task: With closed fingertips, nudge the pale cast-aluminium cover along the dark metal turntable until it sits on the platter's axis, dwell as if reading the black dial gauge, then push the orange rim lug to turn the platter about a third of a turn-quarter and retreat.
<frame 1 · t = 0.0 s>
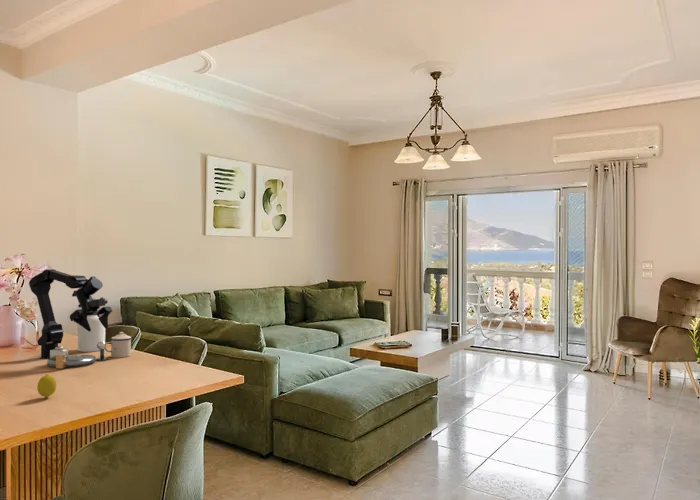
hand: (98, 329, 231), 15 cm above the table, tool tilted 35°, fingers open, 9 cm apart
lemon: (46, 398, 173), on the table
white jar: (91, 350, 263), on the table
turntable base: (71, 364, 228), on the table
cover: (58, 358, 227), point 2 cm above the table, touching platter
platter: (70, 357, 227), point 3 cm above the table, hinge at 0.0°, touching cover
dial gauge: (102, 360, 237), on the table
teacup with lid: (117, 356, 246), on the table
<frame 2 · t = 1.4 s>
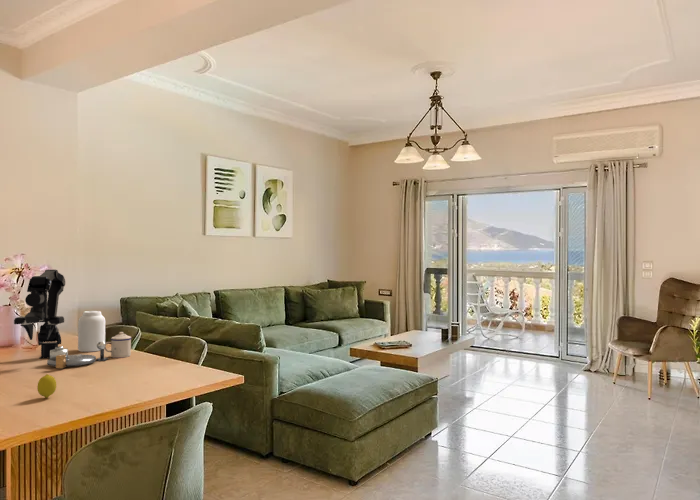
hand: (39, 339, 227), 11 cm above the table, tool pointing down, fingers open, 6 cm apart
nothing on the table moved.
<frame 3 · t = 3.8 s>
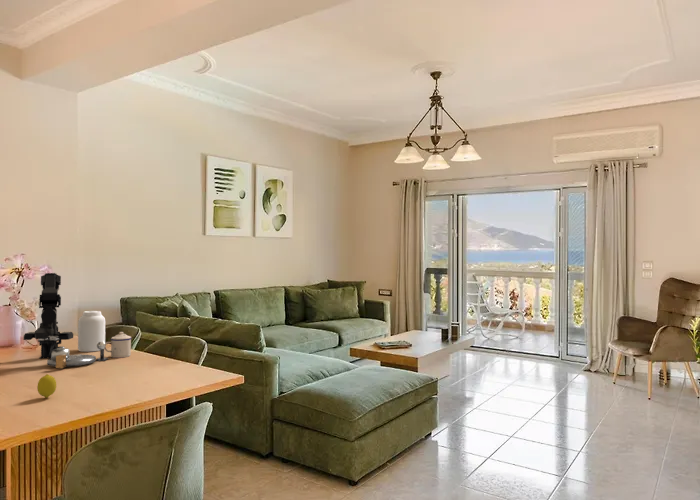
hand: (48, 355, 227), 4 cm above the table, tool pointing down, fingers closed
cover: (60, 358, 227), point 3 cm above the table, touching gripper
platter: (70, 357, 227), point 3 cm above the table, hinge at 0.0°
everything else where it was.
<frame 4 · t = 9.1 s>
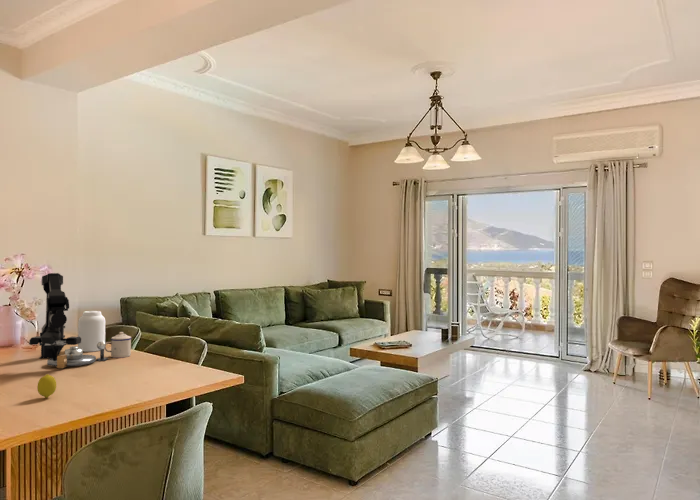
hand: (54, 360, 217), 4 cm above the table, tool pointing down, fingers closed
cover: (73, 358, 228), point 2 cm above the table, touching platter
platter: (70, 357, 227), point 3 cm above the table, hinge at 2.1°, touching cover, gripper
everything else where it was.
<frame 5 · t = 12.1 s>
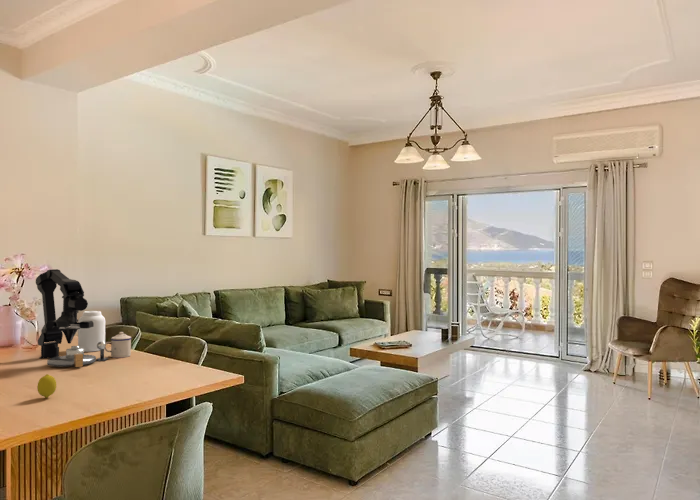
hand: (69, 343, 231), 9 cm above the table, tool pointing down, fingers closed
cover: (75, 357, 229), point 3 cm above the table, touching platter
platter: (72, 357, 227), point 3 cm above the table, hinge at 34.9°, touching cover
everything else where it was.
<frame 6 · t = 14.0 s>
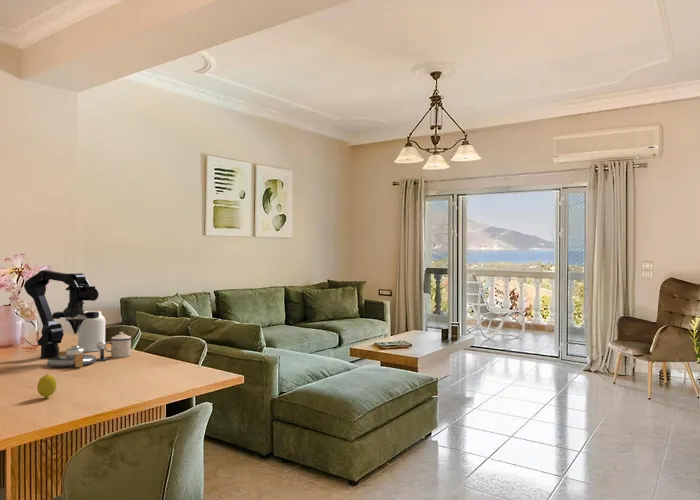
hand: (75, 333, 239), 12 cm above the table, tool pointing down, fingers closed
nothing on the table moved.
at the end: cover 1.5 cm from the platter (horizontally); platter at +35° (first picture: +0°); cover tilted 0° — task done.
